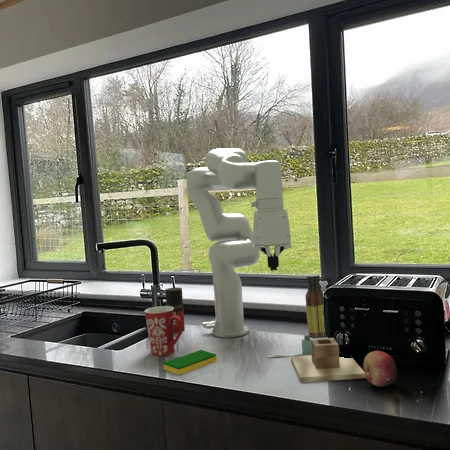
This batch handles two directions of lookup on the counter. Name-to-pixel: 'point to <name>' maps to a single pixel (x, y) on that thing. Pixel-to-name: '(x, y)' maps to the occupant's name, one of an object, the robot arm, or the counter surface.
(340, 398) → the counter surface
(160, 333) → the mug
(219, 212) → the robot arm
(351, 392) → the counter surface
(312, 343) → the block
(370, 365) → the fruit
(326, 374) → the seat
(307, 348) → the bar
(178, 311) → the deodorant
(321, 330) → the sauce bottle
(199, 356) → the dish sponge
